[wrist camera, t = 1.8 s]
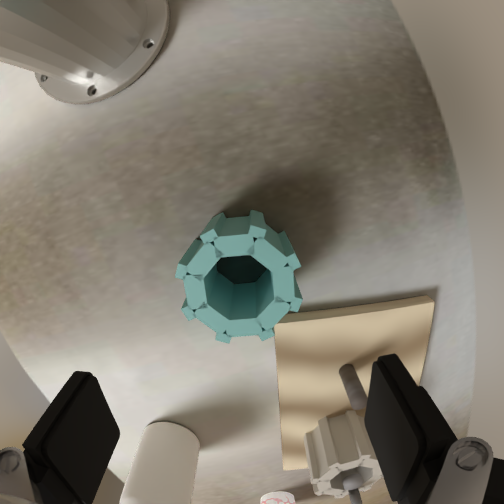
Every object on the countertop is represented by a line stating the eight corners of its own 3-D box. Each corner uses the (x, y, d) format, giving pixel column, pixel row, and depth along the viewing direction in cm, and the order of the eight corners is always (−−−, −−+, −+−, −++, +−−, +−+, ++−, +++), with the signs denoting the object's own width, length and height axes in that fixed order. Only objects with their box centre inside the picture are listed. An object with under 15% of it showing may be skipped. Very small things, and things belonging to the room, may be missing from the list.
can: (191, 418, 29) (172, 514, 18) (206, 454, 31) (195, 541, 19) (135, 418, 29) (102, 505, 18) (155, 454, 31) (133, 534, 20)
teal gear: (187, 215, 24) (167, 233, 18) (287, 206, 23) (298, 220, 18) (201, 306, 26) (188, 345, 20) (292, 298, 25) (303, 336, 20)
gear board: (273, 315, 26) (278, 356, 20) (426, 295, 25) (461, 325, 20) (282, 461, 31) (286, 501, 25) (395, 441, 31) (411, 476, 25)
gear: (298, 422, 27) (309, 487, 20) (372, 402, 27) (398, 462, 19) (310, 461, 29) (319, 518, 22) (374, 444, 29) (393, 498, 21)
